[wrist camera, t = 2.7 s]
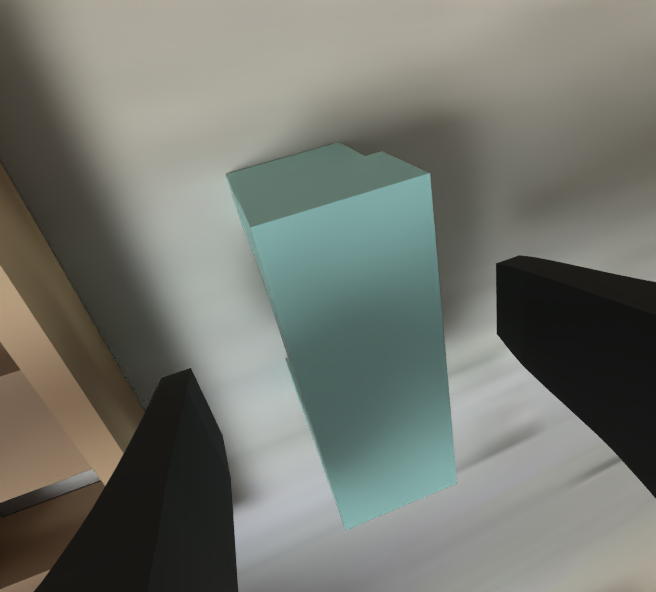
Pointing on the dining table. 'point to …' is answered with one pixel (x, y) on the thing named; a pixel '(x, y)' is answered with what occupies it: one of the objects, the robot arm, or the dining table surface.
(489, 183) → the dining table surface
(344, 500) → the teal block
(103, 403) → the rail
